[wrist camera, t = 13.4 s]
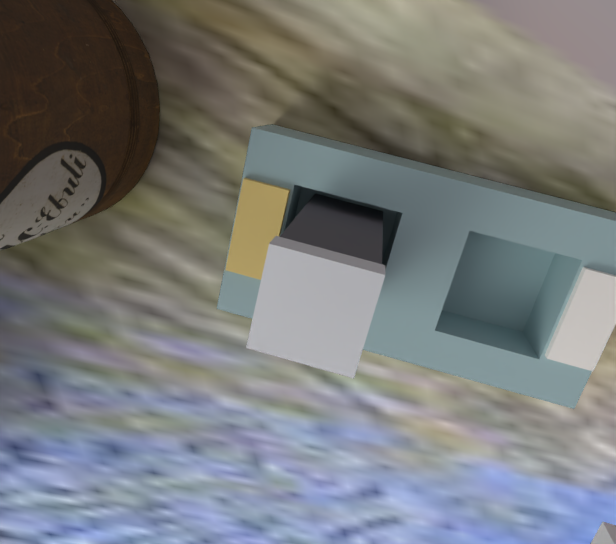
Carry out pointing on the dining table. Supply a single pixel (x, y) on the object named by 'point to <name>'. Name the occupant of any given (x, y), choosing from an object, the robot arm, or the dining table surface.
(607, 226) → the socket block
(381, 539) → the dining table surface
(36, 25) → the wooden container
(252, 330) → the plug
